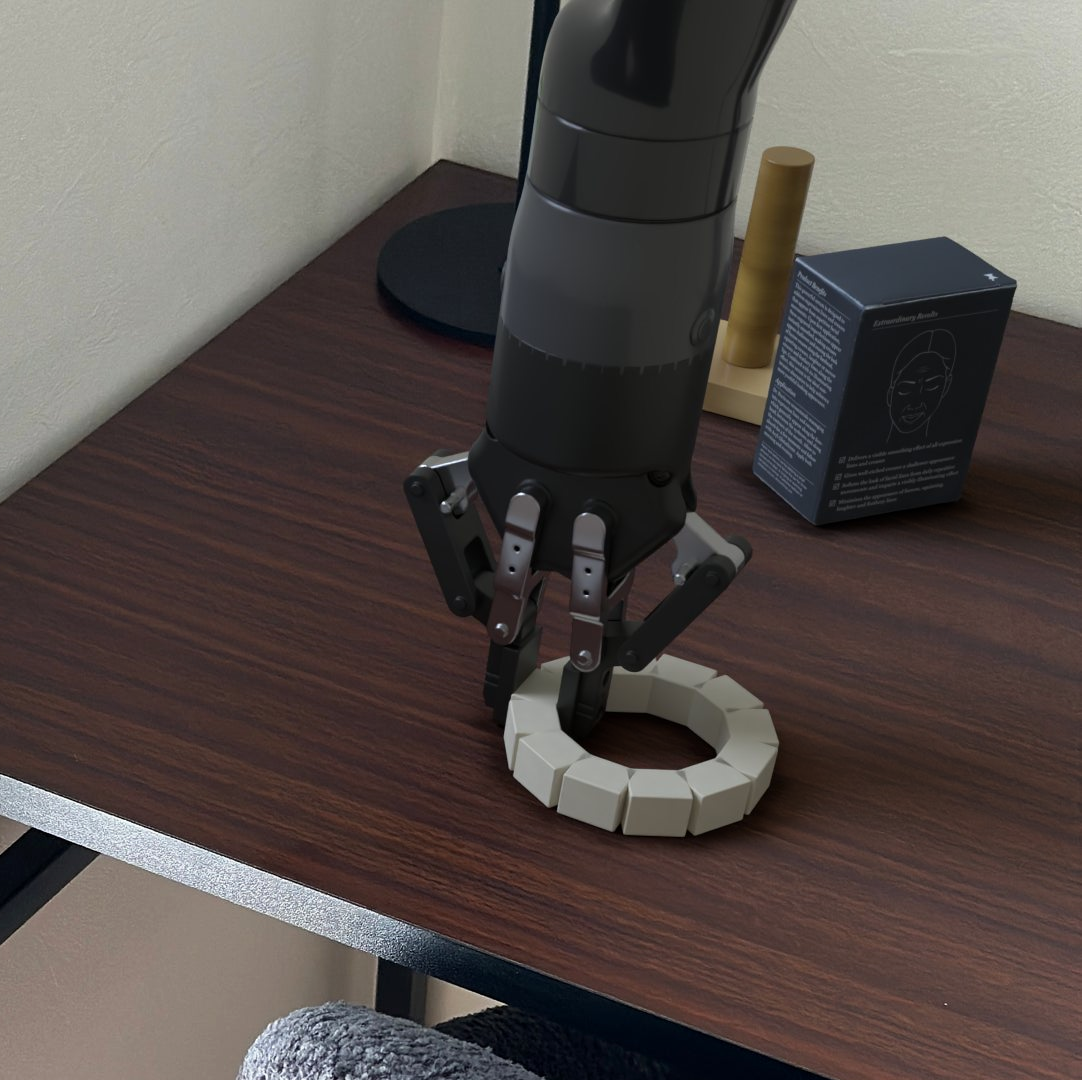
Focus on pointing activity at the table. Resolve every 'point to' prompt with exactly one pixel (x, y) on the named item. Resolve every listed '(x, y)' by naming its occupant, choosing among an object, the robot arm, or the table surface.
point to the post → (760, 287)
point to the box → (881, 378)
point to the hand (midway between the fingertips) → (539, 724)
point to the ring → (646, 794)
